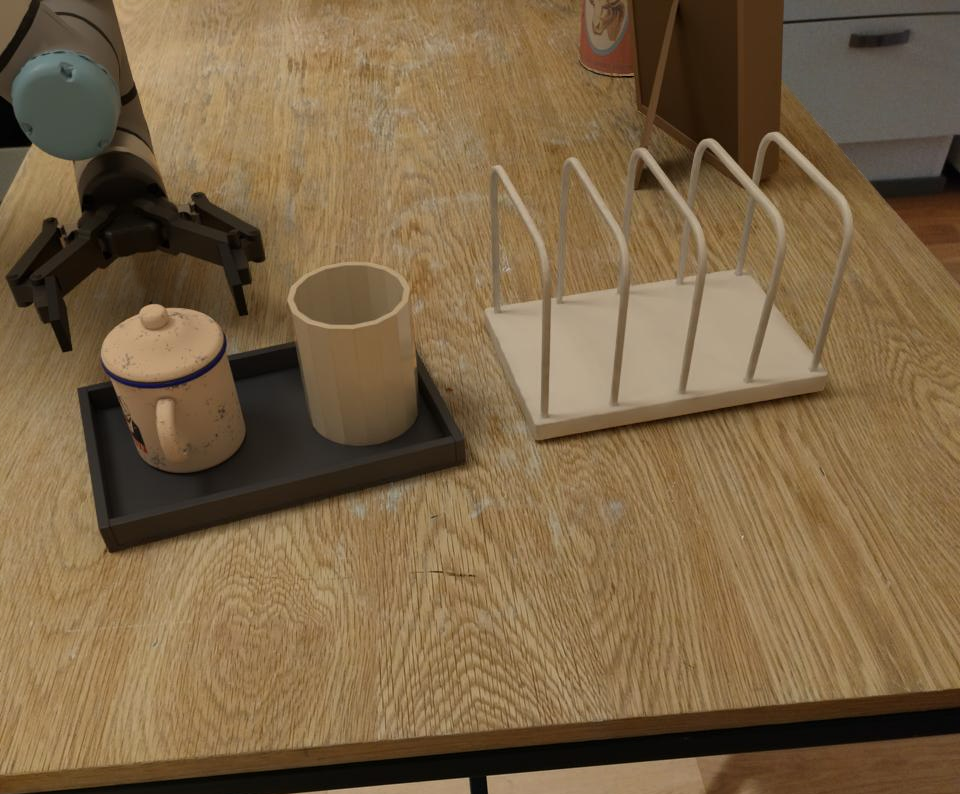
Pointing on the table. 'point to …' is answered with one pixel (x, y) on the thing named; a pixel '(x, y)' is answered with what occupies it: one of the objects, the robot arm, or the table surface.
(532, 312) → the file sorter
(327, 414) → the cream cup
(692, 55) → the photo frame
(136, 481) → the tray
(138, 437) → the teacup with lid
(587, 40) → the canned food
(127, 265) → the table surface
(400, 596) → the table surface
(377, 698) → the table surface
